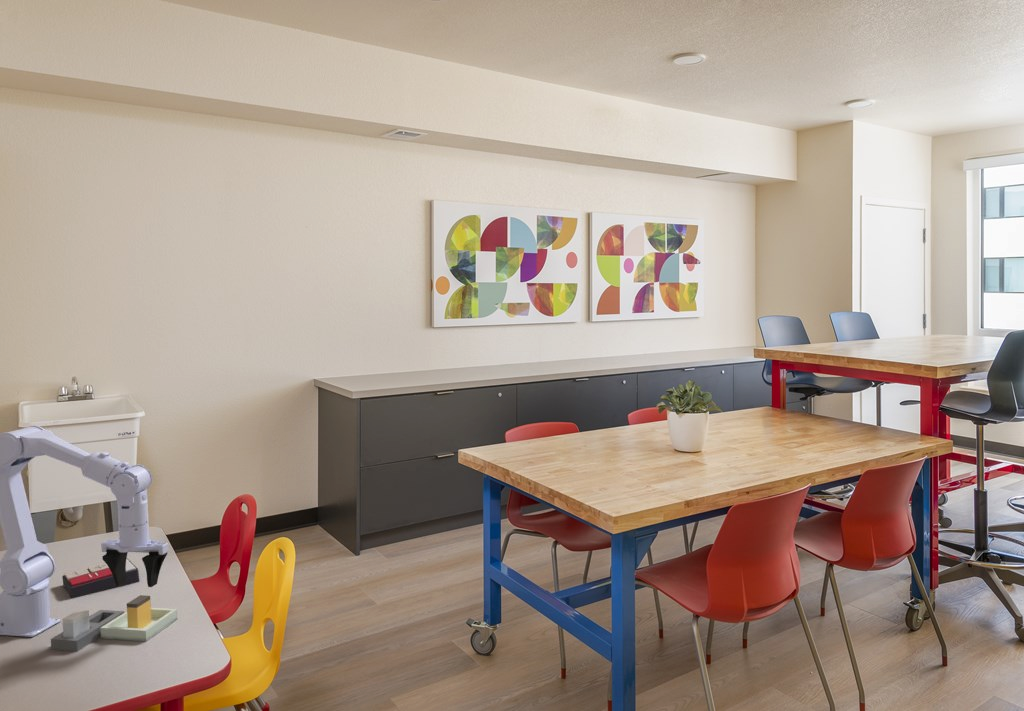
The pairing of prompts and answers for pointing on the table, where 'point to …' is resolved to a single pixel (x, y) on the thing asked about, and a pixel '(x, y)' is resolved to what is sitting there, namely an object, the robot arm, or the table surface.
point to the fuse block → (89, 635)
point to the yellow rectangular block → (139, 612)
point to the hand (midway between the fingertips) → (136, 584)
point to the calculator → (96, 579)
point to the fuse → (76, 624)
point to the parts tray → (122, 632)
